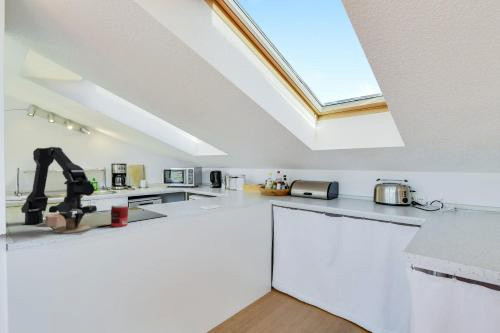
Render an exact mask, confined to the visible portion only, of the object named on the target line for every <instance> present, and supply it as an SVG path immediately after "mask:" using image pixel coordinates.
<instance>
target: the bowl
mask: <svg viewBox="0 0 500 333" xmlns="http://www.w3.org/2000/svg"><path fill="white" fill-rule="evenodd" d="M44 224H45V226H46V227H49V228H51V227H55V228H58V227H64V226H66V220H65V218H64V217H63V216H62V215H60V214H59V213H51V214H48V215H45V221H44Z"/></svg>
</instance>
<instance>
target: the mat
mask: <svg viewBox="0 0 500 333" xmlns="http://www.w3.org/2000/svg"><path fill="white" fill-rule="evenodd" d="M89 226H90V229H89V230H87V231H84V232H79V233H71V234H58V233H55V232H54V230H55V229H53V230H51V231H48V232H45V233H42V235H51V236H53V235H56V236H57V235H60V236H62V235H63V236H64V235H65V236H66V235H67V236H71V235H72V236H73V235H74V236H76V235H78V236H80V235H81V236H82V235H84V234H86V233H88V232H90V231H92V230H94V229H96V228H99V227H100V226H99V225H98V226H97V225H94V226H93V225H92V226H91V225H89Z"/></svg>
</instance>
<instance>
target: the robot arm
mask: <svg viewBox="0 0 500 333" xmlns="http://www.w3.org/2000/svg"><path fill="white" fill-rule="evenodd" d="M32 154H33V161H34V163H35V164H36V166H35V171H34V178H33V185H32V191H31V193H30V194H29V195H27V197H26V200H25V202H24V204H23V205H22V206H21V208H20V210H21V213H22V214H24V223H23V222H22V223H21V225H22V226H23V225H26V226H27V225H28V226H31V225H32V226H35V225H36V226H37V225H39V224H42V223H43V224H44V223H45V221H44V214H43V212H46V210H47V207H48V201H49V197H48V196H47V195H46V194H45V190H46V184H47V180H48V179H47V178H48V173H49V167H50V166H51V164H53V163H54V161H55V162H56V163H57V164H58V165H59V166H60V168H61V169H62V175H63V177H64V179H66V181H64V183H63V184H64V185H66V193H65V194H66V195H65V196H64V199H63V201H61V202H60V203H58V204H56V205H52V206H51V205H50V207H49V208H48V213H51V214H57V212H58V214H60V215H62V216H63V217H64V218H65V220H66V219H68V218H71V217H73V213H74V212H75V213H74V216H75V217H76V218H75V227H78V225H79V223H80V224H81V221H82V220H83V217H84V216H85V214H92V213H95V212H97V211H98V210H97V209H98V208H97V206H96V205H94V204H93V205H92V204H91V205H84V206H83V203H82V199H83V196H91V195H92V194H94V192H95V186H94V185H93V183H91V180H89V178H88V176H87V175H86V174H87V173H85V171H84V168H82V167H81V166H80V165H77V164H75V163H73V162H72V161H71V159H70V158H69V156H67V155H66V153H65V152H64V151H63V149H62V147H59V146H57V147H56V146H50V147H43V148H42V147H37V148H35V149H34V151H32Z"/></svg>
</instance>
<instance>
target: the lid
mask: <svg viewBox="0 0 500 333" xmlns="http://www.w3.org/2000/svg"><path fill="white" fill-rule="evenodd" d="M75 218H76V216H75V215H74V216H72V217H71V218H68V219H66V225H65V226H59V227H56V228H55V229H53V230H54V232H55V233H58V234H71V233H79V232H84V231H87V230H89V229H90V226H91V225H86V224H81V222H80V223H79V225H78V227H75Z"/></svg>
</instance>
